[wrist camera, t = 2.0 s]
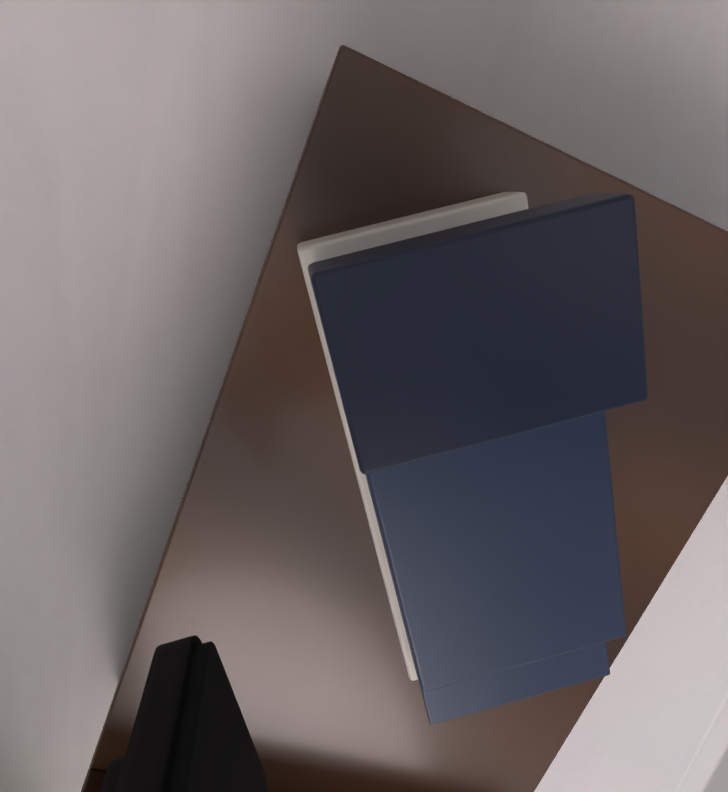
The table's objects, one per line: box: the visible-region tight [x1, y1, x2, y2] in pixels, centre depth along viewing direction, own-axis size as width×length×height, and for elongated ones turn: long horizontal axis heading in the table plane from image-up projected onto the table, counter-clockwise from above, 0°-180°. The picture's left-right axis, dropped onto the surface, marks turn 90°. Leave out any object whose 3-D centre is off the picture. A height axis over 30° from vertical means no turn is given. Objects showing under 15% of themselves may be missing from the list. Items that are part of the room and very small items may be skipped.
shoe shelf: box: [81, 45, 728, 792], centre depth 16 cm, size 20×13×6 cm, turn 158°
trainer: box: [297, 192, 648, 725], centre depth 12 cm, size 11×5×5 cm, turn 13°
